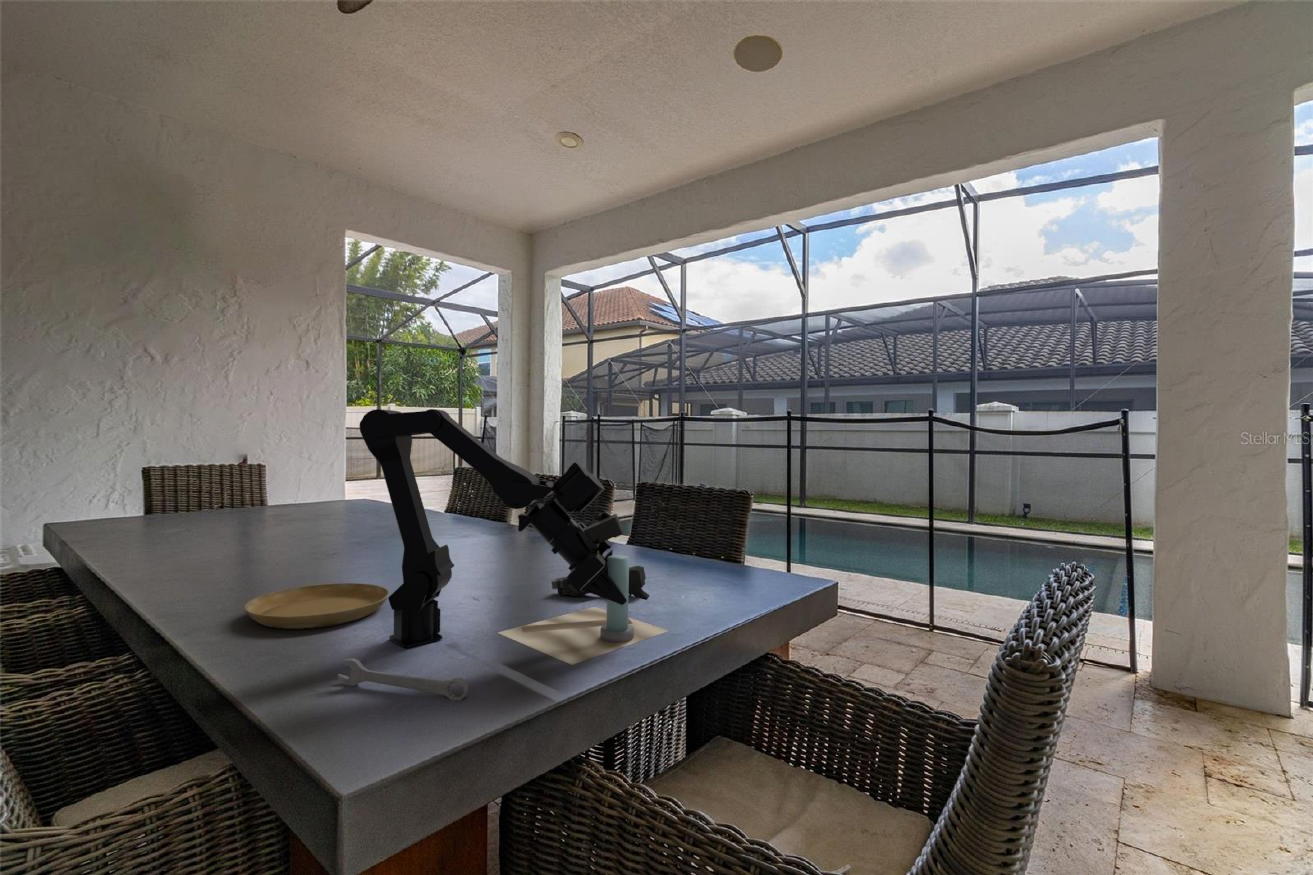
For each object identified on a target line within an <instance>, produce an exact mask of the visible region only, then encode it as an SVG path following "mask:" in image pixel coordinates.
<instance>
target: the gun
mask: <svg viewBox="0 0 1313 875" xmlns="http://www.w3.org/2000/svg"><path fill="white" fill-rule="evenodd" d="M645 580H646V573H645V567H643V566H641V565H634V566H631V567H630V566H629V587H628V595H629V597H630V596H634V597H635V598H637V599H641V600H645V601H647V600H648V599H649V598H650V597H651V596H650V594H648V593H647V592H646V591H644V589H643V587H644V586H645V585H646V582H645ZM551 587H552V590H557V594H556V595H557V596H559V597H561V596H563V595H570V596H571V597H579V596H586V595H588V594H590V593H589V592H586V591H581V590H579V591H578V592H576V593H575V592H574V591H573V590H572V589H571V588H570V587H569V586H568V585H567V576H562V577H557V578H555V579H553V580H552V581H551Z"/></svg>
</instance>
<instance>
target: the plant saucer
mask: <svg viewBox="0 0 1313 875" xmlns="http://www.w3.org/2000/svg"><path fill="white" fill-rule="evenodd" d="M389 596H390V590H388V589H387V588H386V587H384V586H381V585H378V584H376V585H375V584H371V583H358V582H357V583H356V582H355V583H353V582H342V583H340V582H339V583H336V582H335V583H323V584H322V583H321V584H313V585H312V584H310V585H304V586H296V587H292V588H285V589H280V590H277V591H273V592H269V593H265V594H262V595H259V596H257V597H255V598H253V599H250V600H249V601H248V602H246V604H245V605H244V610H245V612H246V614H247V615H248V616H249V617H250V618H251V619H252V620H253V621H255V622H257V623H259V624H261V625H262V626H265V627H268V628H272V627H274V628H273V629H280V628H282V629H283V630H305V628H309V629H316V628H315V627H319V628H325V627H326V626H327V627H332V626H337V625H342V623H343V624H346V623H350V622H353V621H357V620H360V619H363V618H365V617H368V616H370V615H371V614H373V613H374V612H377V610H378V609H380V608H381V607H382V606H383V605H384V604H385V603H386V601H387V600H388V598H389ZM282 629H281V630H282Z"/></svg>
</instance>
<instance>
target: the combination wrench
mask: <svg viewBox="0 0 1313 875" xmlns="http://www.w3.org/2000/svg"><path fill="white" fill-rule="evenodd" d="M341 663H342V664H344V665H346V666H348V667H350V670H351V672H350V676H347V675H344V674H341V673H338V674H337V677H338V679H339V680H340V681H341V683H342V685H345V686H352V687H355V686H356V685H358V684H361V683H364V682H370V683H376V684H381V685H386V686H393V687H398V688H403V689H407V690H415V691H416V690H417V691H420V692H426V693H433V694H438V695H442V696H445V697H447V698H448V699H449V700H457V701H462V700H463V699H464V698H465V697H466V696H467V695H468V692H469V686H468V682H466V681H465V679H463V678H461V677H455V678H453V679H451V680H436V679H431V678H425V677H417V676H416V677H415V676H409V675H403V674H396V673H391V672H385V671H384V672H382V671H377V670H370V669H368V668H366V667H365V666H363V664H362V662H361V661H360V660H359V659H356V658H345V659H342V660H341ZM454 683H456V684H459V685H460V686H462V690H463V691H462V692H463V693H462V695H460V696H459V695H456V696H455V694H453V693H452V692H453V691H451V686H452V685H453V684H454Z"/></svg>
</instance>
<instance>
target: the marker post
mask: <svg viewBox="0 0 1313 875" xmlns="http://www.w3.org/2000/svg"><path fill="white" fill-rule="evenodd" d="M608 561H609V575H610V576H611V577H612V579H613V580H614V582H615V583H616V585H617V586H618V587H619V589H620V590H621V592H622V593H623V595H624V596H625V598H626V599H627V602H626V603H625V604H624V605H621V604H618V603H616V602H613V601H610V600H608V599H606V611H607V624H606V625H604V626H602V627H601V629H600V638H601V640H603V641H605V642H609V643H624V642H628V641H631V640H632V639H633V638H634V628H633V626H631V625H628V618H629V594H628V587H629V567H630V557H629V556H628V555H624V554H623V555H621V554H615V555H614V554H613V556H608Z"/></svg>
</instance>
